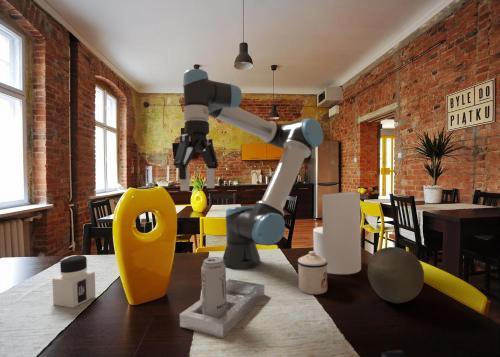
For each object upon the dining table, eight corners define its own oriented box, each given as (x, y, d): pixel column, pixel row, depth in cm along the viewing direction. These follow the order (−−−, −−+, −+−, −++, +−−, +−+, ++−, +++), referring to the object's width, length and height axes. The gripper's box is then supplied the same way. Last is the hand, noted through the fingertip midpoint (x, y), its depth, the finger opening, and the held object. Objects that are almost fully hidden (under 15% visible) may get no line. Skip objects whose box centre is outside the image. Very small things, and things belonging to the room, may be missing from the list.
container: (96, 296, 85) (94, 254, 85) (72, 308, 78) (71, 262, 78) (77, 293, 88) (75, 252, 87) (52, 305, 80) (51, 259, 80)
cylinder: (369, 266, 107) (368, 192, 106) (344, 278, 95) (343, 196, 95) (330, 256, 120) (329, 191, 119) (304, 266, 109) (303, 193, 108)
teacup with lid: (328, 296, 82) (327, 256, 81) (297, 294, 84) (296, 255, 84) (327, 281, 93) (326, 246, 93) (299, 279, 95) (298, 245, 95)
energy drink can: (223, 326, 67) (221, 264, 66) (199, 325, 68) (197, 263, 67) (229, 314, 73) (227, 256, 72) (207, 312, 74) (205, 256, 73)
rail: (229, 288, 89) (229, 279, 89) (264, 294, 84) (264, 284, 84) (179, 326, 67) (179, 314, 67) (223, 338, 62) (222, 324, 62)
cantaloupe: (360, 291, 84) (359, 242, 84) (408, 291, 84) (408, 241, 83) (379, 315, 70) (378, 256, 70) (437, 316, 69) (436, 255, 69)
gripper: (180, 112, 75) (182, 192, 75) (227, 126, 97) (228, 187, 98) (159, 115, 78) (161, 191, 78) (209, 127, 101) (210, 187, 101)
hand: (198, 189), depth 88 cm, fingers open, 13 cm apart
